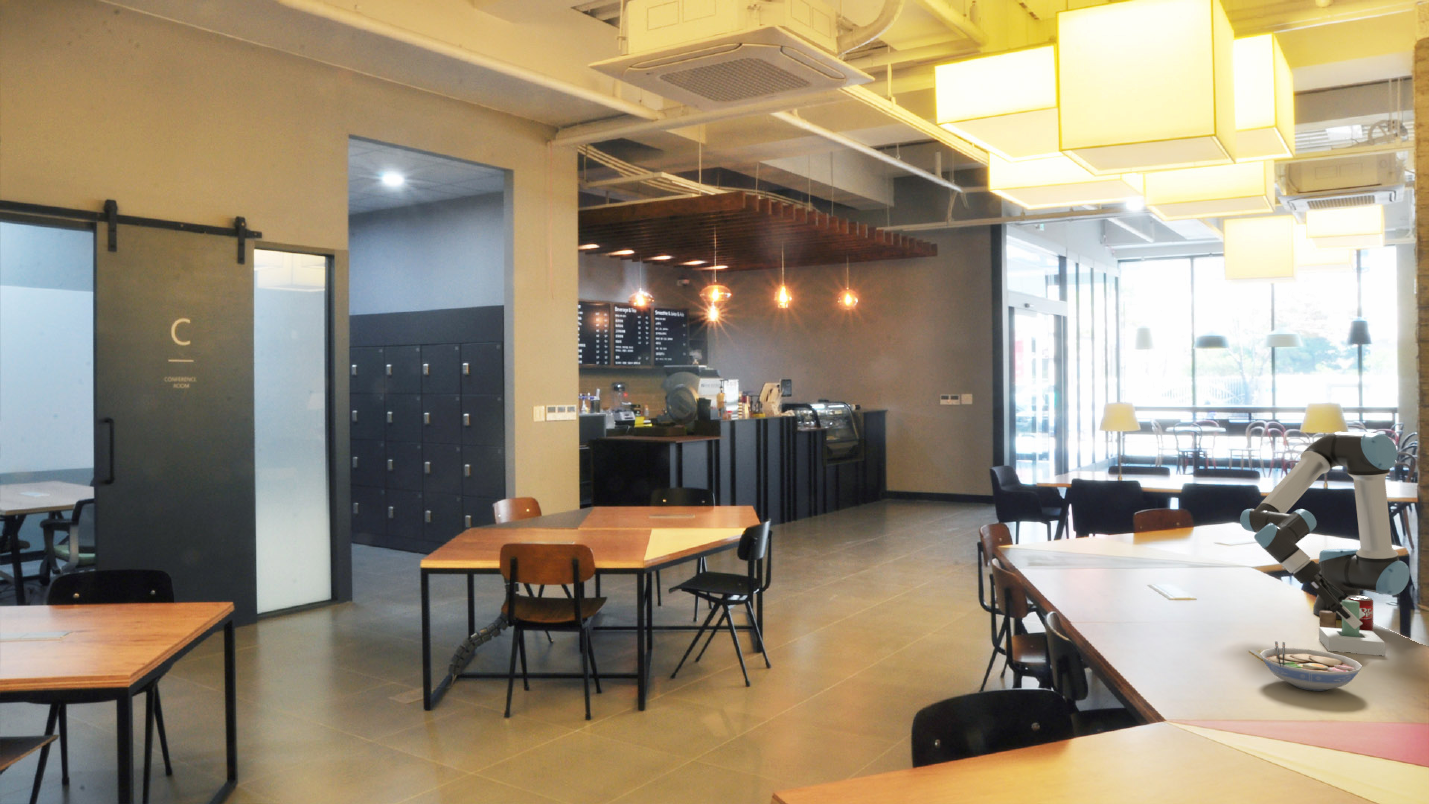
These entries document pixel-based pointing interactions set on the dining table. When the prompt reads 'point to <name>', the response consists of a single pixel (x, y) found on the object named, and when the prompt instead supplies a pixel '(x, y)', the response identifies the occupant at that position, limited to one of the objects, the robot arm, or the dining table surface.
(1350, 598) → the soda can
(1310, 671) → the ramen bowl
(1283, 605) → the dining table surface
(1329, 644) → the white square hole block
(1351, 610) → the tall pin
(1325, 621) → the short pin
